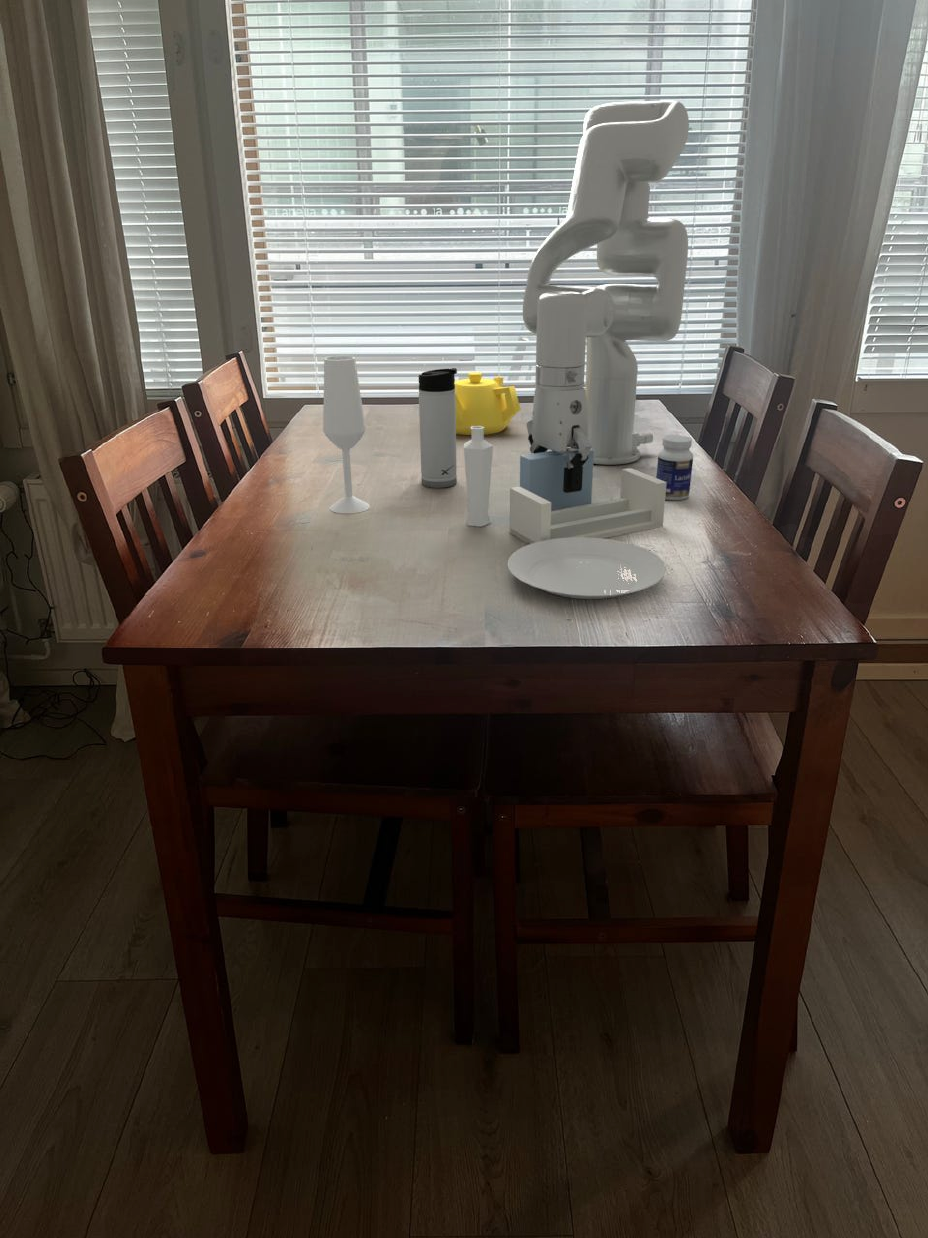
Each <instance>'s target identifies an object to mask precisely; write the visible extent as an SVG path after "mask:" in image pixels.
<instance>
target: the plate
mask: <svg viewBox="0 0 928 1238" xmlns="http://www.w3.org/2000/svg"><path fill="white" fill-rule="evenodd" d="M580 562H582V563H580ZM587 562H588V563H587ZM620 565H621V566H620ZM576 567H577V568H576ZM620 567H621V568H622V573H624V572H623V571H624V569H626V570H629V569H630V570H631V575H632V577H635V576H634V575H633V574H636V579H637V582H636V581H635V580H634V579H633V578H632V580H633V581H631V580H630V579H628V582H627V581H626V580H625V579H622V577H621V576H620V575H621V573H619V572H621V570H620V569H621V568H620ZM624 567H626V568H624ZM507 568H508V570H509V572H510V574H511V575H512V576H513V577H515V578H516V579H517V580H519V581H520V582H522V583H524V584H527V585H529V586H531V587H533V588H536V589H540V590H542V591H546V592H547V593H550V594H554V595H556V596H560V597H565V598H566V597H567V598H572V599H580V600H581V599H584V600H594V599H595V600H599V599H600V600H601V599H602V600H603V599H610V598H617V597H621V596H624V595H627V594H631V593H635V592H640V591H643V590H646V589H648V588H650V587H653V586H655V585H656V584H659V582H660V581H662V579H664V578H665V575H666V572H667V567H666V565H665V562H664V560H663V559H662V558H661V557H660V556H659V555H657V554H655V553H654V552H653V551H650V550H648V549H647V548H644V547H641V546H639V545H635V544H633V543H629V542H624V541H620V540H617V539H616V540H614V539H608V538H587V537H573V538H558V539H549V540H545V541H540V542H536V543H532V544H527V545H525V546H522V547H521V548H519V549H517V550H514V552H513V553H511V555H510V557H509V558H508V561H507ZM617 571H619V572H617ZM627 573H628V571H627ZM618 574H619V575H618ZM627 576H628V574H627ZM623 577H624V575H623ZM625 577H626V576H625ZM618 578H619V579H618ZM623 580H624V581H623ZM628 583H629V584H628ZM604 590H606V594H605V593H604ZM610 590H611V595H610ZM616 590H620V593H619V592H617V591H616ZM621 590H629V591H627V592H625V593H621Z"/></svg>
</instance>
